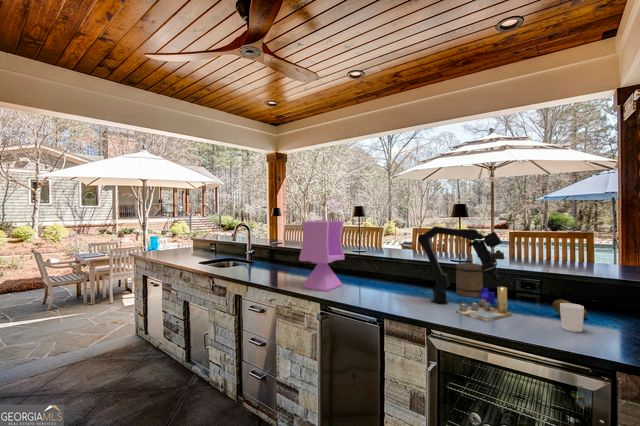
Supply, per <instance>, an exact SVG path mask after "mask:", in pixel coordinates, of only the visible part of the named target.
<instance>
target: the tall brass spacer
mask: <svg viewBox="0 0 640 426" xmlns="http://www.w3.org/2000/svg"><path fill="white" fill-rule="evenodd" d="M496 289H497V290H496V291H497V294H496V296H497V309H498V313H502V314H507V312H508V288H507V287H505V286H497V288H496Z"/></svg>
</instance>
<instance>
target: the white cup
mask: <svg viewBox="0 0 640 426" xmlns="http://www.w3.org/2000/svg"><path fill="white" fill-rule="evenodd" d="M584 309H585V307H584V305H581V304H577V303H572V302H570V303H560V321H561V328H562V329H563V330H565V331H568V332H572V333H573V332H574V333H581V332H583V328H584V327H583V325H584V318H583V317H584Z"/></svg>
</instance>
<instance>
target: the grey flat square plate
mask: <svg viewBox="0 0 640 426" xmlns="http://www.w3.org/2000/svg"><path fill="white" fill-rule="evenodd" d="M472 315H475V316H478V317H481V318H484V319H491V318H495V317H498V315H495V314H492V313H488V312H485V311H480V312H475V313H472Z"/></svg>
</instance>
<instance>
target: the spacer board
mask: <svg viewBox="0 0 640 426" xmlns="http://www.w3.org/2000/svg"><path fill="white" fill-rule="evenodd" d="M480 311H485V310H483V307H480V306H479V305H478V311H473V310H472V306H471V307H467V311H466V312H463V311H460V309H457V310H455V313H456V314H460V315H463V316H466V317H469V318H472V319H475V320H479V321H483V322H485V323H488V322H491V321H496V320H499V319H503V318H507V317H511V316H513V312H509V311H507V314H502V313H498V308H494V307H491V306H490V311H485V312H488V313H492V314H495V315H498V317H495V318H491V319H484V318H481V317H478V316H475V315H472V313H475V312H480Z"/></svg>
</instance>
